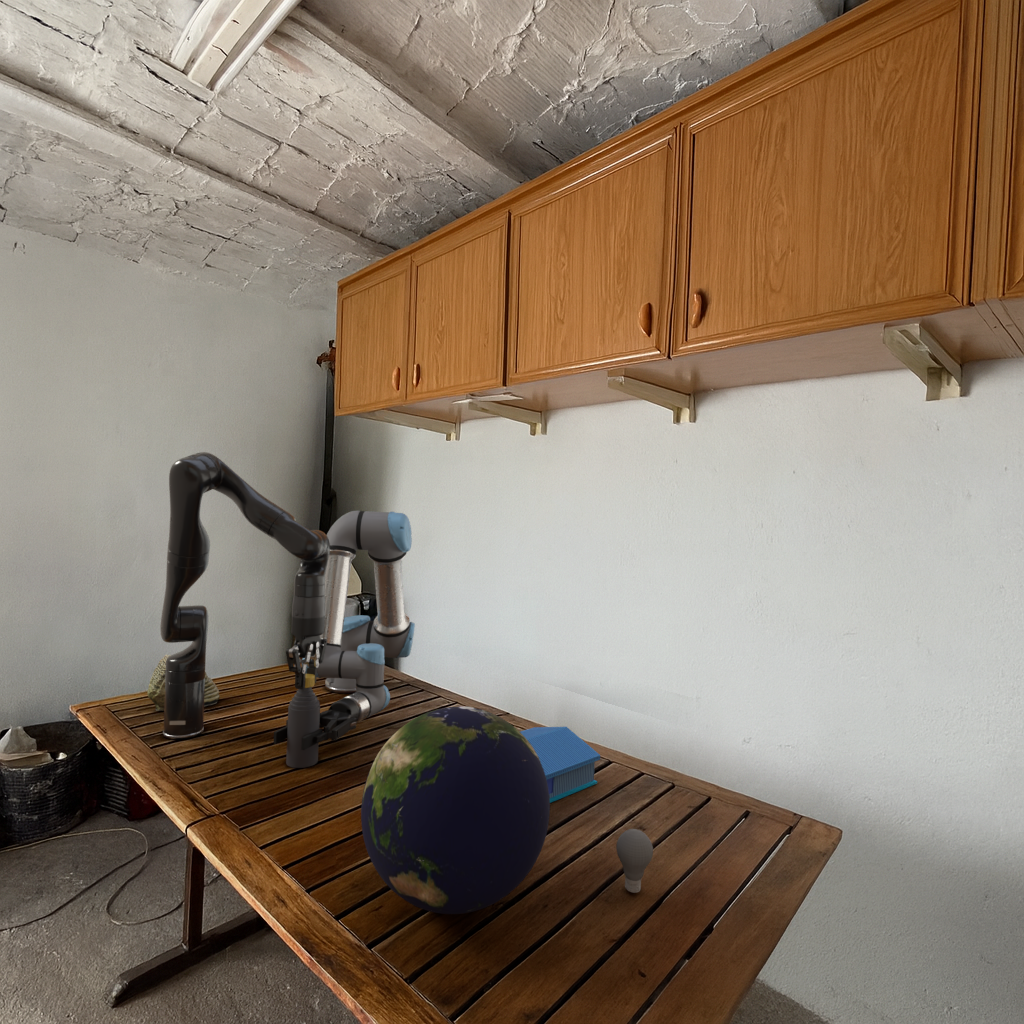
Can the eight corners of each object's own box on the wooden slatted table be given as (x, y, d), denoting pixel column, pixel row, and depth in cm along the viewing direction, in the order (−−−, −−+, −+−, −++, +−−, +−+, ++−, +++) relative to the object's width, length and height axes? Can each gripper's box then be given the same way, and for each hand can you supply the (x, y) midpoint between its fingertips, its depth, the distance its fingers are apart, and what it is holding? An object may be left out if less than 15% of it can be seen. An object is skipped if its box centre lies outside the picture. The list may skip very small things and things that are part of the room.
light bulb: (610, 879, 108) (613, 822, 108) (644, 879, 109) (647, 822, 109) (619, 902, 102) (622, 840, 102) (655, 901, 103) (658, 840, 103)
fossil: (144, 707, 182) (145, 655, 182) (212, 696, 194) (213, 647, 194) (151, 716, 175) (153, 662, 175) (221, 703, 188) (223, 653, 188)
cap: (313, 682, 153) (314, 673, 153) (315, 687, 149) (315, 677, 149) (295, 683, 152) (295, 674, 152) (296, 688, 148) (296, 679, 148)
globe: (316, 925, 94) (323, 724, 93) (419, 831, 121) (425, 675, 121) (501, 992, 83) (511, 764, 82) (568, 871, 110) (576, 700, 110)
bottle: (282, 768, 147) (286, 682, 146) (290, 755, 154) (293, 674, 154) (314, 767, 147) (318, 682, 147) (320, 755, 155) (323, 674, 154)
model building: (474, 846, 117) (476, 792, 117) (402, 796, 135) (404, 749, 135) (608, 788, 143) (610, 744, 143) (533, 753, 161) (535, 714, 161)
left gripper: (304, 620, 142) (301, 696, 143) (338, 610, 156) (335, 680, 156) (276, 617, 144) (273, 692, 145) (311, 608, 158) (309, 676, 158)
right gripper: (380, 732, 164) (324, 765, 142) (316, 719, 171) (253, 749, 150) (381, 703, 164) (325, 732, 142) (317, 691, 171) (255, 717, 149)
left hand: (305, 685), depth 150 cm, fingers closed on cap, 4 cm apart
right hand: (288, 740), depth 146 cm, fingers closed on bottle, 7 cm apart
